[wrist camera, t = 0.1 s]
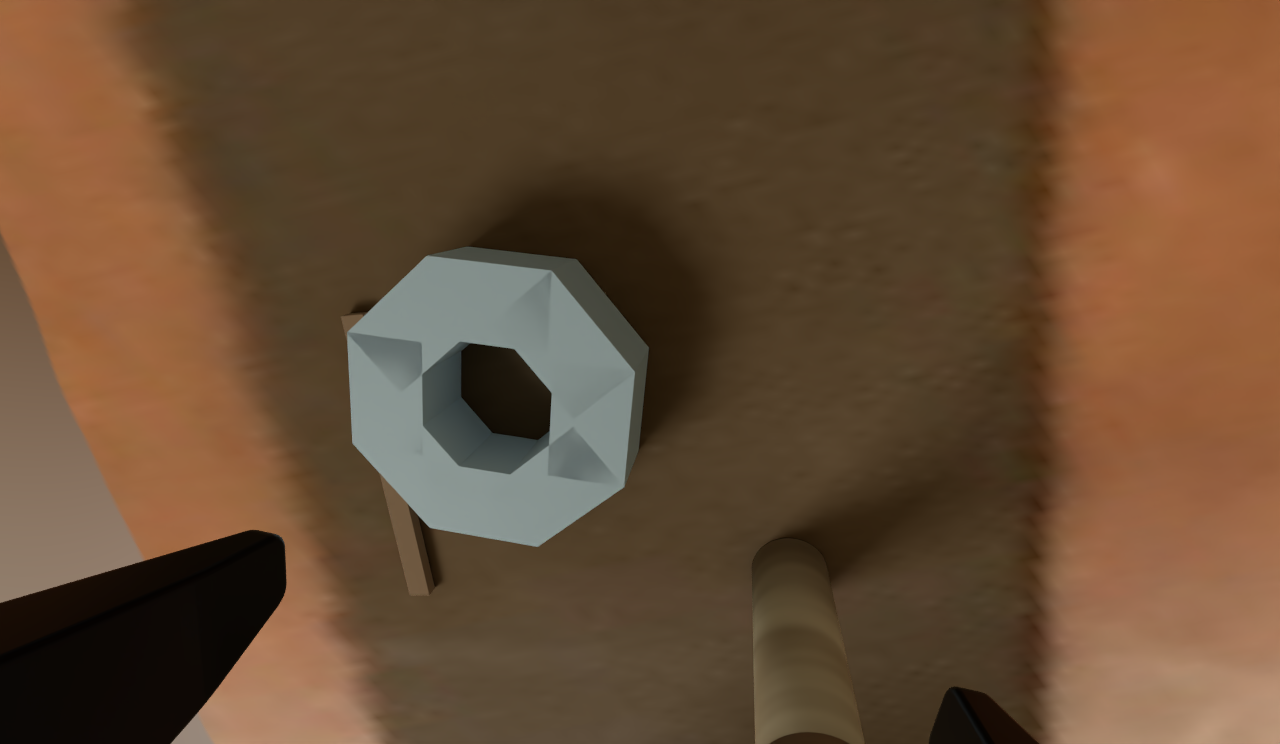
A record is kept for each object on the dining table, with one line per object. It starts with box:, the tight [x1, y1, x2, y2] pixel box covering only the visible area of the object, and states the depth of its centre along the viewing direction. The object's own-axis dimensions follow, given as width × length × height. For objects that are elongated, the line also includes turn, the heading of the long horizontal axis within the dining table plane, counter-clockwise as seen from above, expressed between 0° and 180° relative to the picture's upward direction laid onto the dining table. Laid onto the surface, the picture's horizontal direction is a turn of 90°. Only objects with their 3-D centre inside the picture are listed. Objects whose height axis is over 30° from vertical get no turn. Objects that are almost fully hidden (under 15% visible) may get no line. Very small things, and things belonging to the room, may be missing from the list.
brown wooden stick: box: [341, 312, 435, 595], centre depth 25 cm, size 12×1×1 cm, turn 7°
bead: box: [347, 246, 649, 547], centre depth 22 cm, size 10×10×3 cm
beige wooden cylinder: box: [752, 538, 865, 744], centre depth 19 cm, size 3×3×10 cm
